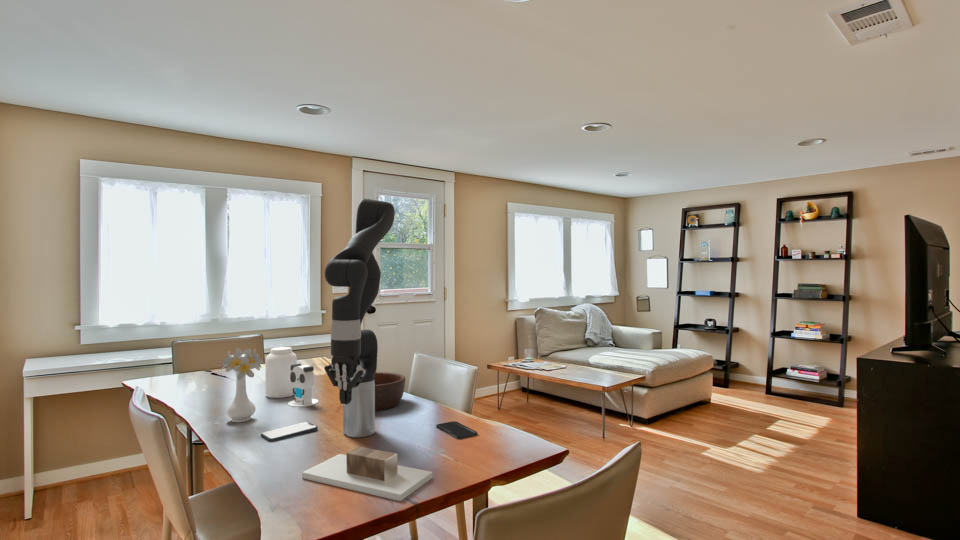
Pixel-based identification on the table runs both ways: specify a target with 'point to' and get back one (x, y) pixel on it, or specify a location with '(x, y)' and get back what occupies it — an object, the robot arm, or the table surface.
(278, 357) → the white jar
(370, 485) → the white board
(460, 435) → the phone
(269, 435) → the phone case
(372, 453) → the walnut block
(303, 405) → the panda figurine
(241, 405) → the flower vase
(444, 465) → the table surface
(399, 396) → the wooden bowl
